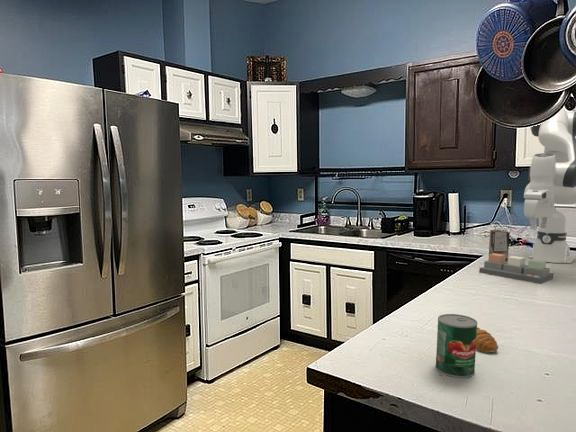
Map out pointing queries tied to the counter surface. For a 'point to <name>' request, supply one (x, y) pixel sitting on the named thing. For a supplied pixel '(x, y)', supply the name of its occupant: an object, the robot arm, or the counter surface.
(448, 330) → the canned tomato
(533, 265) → the key sage
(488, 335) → the pastry
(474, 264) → the counter surface
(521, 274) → the keypad base
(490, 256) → the key rust
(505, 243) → the coffee box
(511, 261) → the key cream
